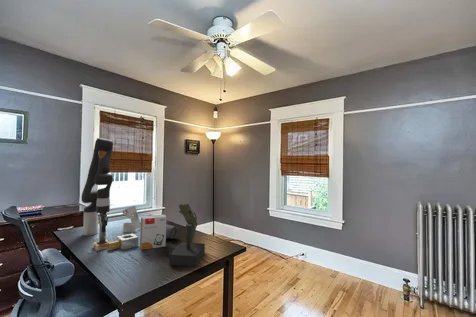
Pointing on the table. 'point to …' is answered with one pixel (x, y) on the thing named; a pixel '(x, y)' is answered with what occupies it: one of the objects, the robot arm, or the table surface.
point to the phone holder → (134, 219)
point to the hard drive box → (153, 231)
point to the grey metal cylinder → (101, 234)
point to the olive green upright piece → (189, 219)
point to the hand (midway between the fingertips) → (102, 231)
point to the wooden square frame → (100, 245)
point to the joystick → (187, 252)
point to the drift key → (114, 245)
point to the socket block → (128, 241)
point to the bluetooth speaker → (171, 231)
